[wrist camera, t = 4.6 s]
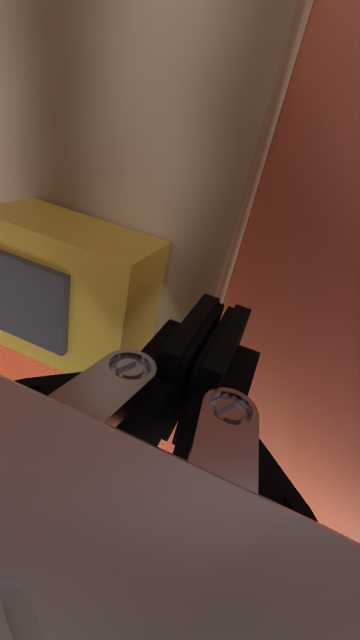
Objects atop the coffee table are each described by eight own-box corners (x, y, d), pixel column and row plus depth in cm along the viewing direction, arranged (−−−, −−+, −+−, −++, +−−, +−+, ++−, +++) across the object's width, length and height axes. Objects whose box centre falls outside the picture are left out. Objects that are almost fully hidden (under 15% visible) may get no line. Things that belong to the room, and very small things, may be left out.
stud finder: (171, 242, 12) (126, 268, 10) (149, 353, 15) (109, 400, 12) (33, 197, 14) (-42, 209, 11) (34, 306, 16) (-26, 339, 13)
